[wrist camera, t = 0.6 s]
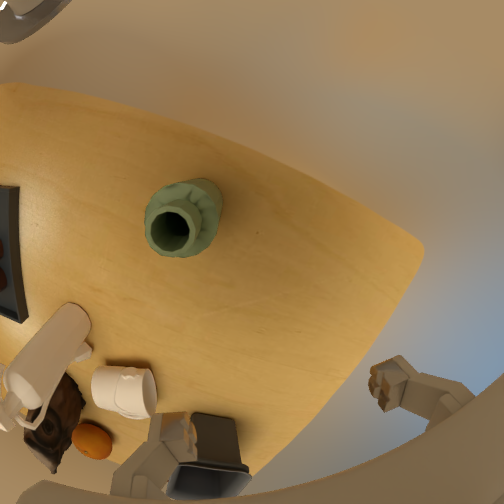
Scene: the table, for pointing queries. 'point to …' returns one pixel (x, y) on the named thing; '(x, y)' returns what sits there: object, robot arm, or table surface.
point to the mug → (125, 391)
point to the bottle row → (0, 276)
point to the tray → (11, 257)
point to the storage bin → (211, 463)
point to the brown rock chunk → (55, 424)
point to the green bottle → (183, 218)
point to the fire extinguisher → (43, 365)
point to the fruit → (92, 441)
